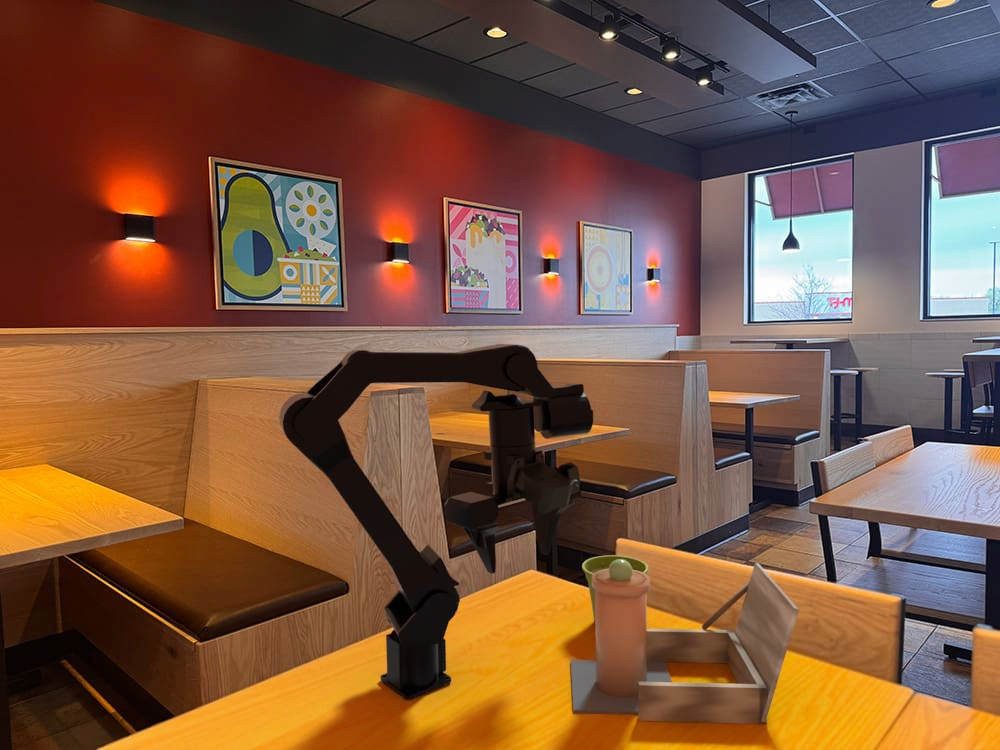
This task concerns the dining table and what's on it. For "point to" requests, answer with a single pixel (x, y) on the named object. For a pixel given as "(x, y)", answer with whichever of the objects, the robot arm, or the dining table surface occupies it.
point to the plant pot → (604, 563)
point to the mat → (596, 701)
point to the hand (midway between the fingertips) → (519, 563)
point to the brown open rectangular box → (724, 660)
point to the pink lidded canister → (621, 628)
